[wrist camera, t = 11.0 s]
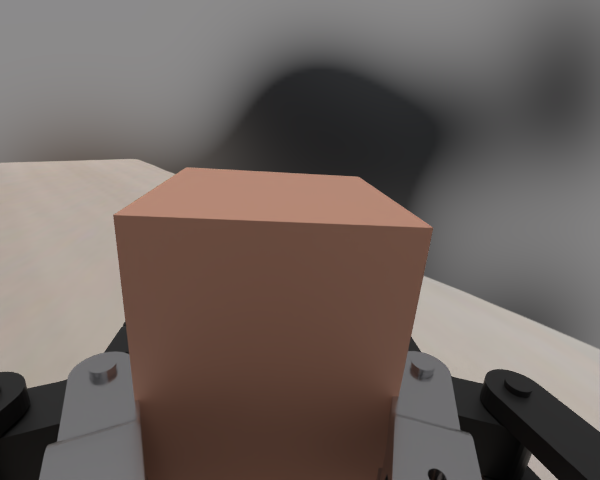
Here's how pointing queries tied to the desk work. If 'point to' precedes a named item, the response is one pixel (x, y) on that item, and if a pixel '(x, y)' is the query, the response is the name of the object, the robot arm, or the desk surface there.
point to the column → (267, 322)
